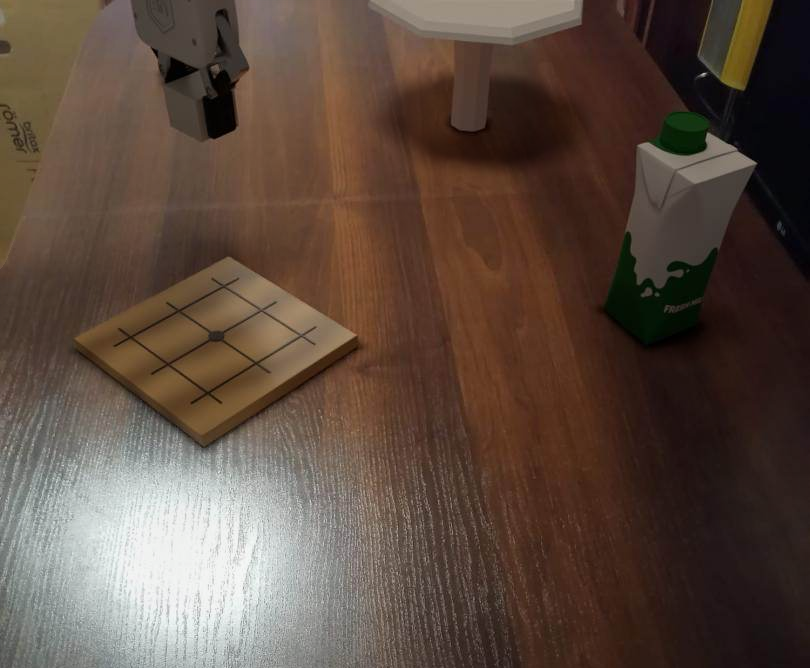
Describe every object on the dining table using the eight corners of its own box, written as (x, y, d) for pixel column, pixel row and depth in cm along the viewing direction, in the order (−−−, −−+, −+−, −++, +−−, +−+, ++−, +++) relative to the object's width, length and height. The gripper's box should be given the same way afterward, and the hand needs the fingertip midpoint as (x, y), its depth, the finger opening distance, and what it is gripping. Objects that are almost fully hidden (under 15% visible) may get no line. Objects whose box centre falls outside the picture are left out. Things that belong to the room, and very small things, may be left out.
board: (77, 350, 87) (72, 337, 86) (230, 267, 96) (228, 254, 95) (204, 447, 78) (201, 434, 77) (358, 346, 88) (357, 333, 87)
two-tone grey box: (170, 126, 86) (162, 84, 83) (207, 110, 88) (201, 69, 85) (201, 142, 84) (195, 100, 81) (238, 126, 86) (233, 84, 83)
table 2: (512, 197, 107) (530, 53, 94) (326, 136, 115) (319, -3, 102) (602, 110, 122) (629, -25, 109) (432, 61, 131) (437, -68, 118)
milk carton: (652, 284, 96) (705, 99, 80) (709, 328, 91) (777, 141, 75) (590, 307, 93) (632, 120, 77) (646, 354, 88) (702, 165, 72)
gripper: (70, -109, 73) (120, 109, 87) (201, -60, 66) (232, 168, 81) (142, -126, 77) (179, 86, 91) (272, -81, 70) (290, 140, 84)
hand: (203, 122), depth 86 cm, fingers closed on two-tone grey box, 4 cm apart
